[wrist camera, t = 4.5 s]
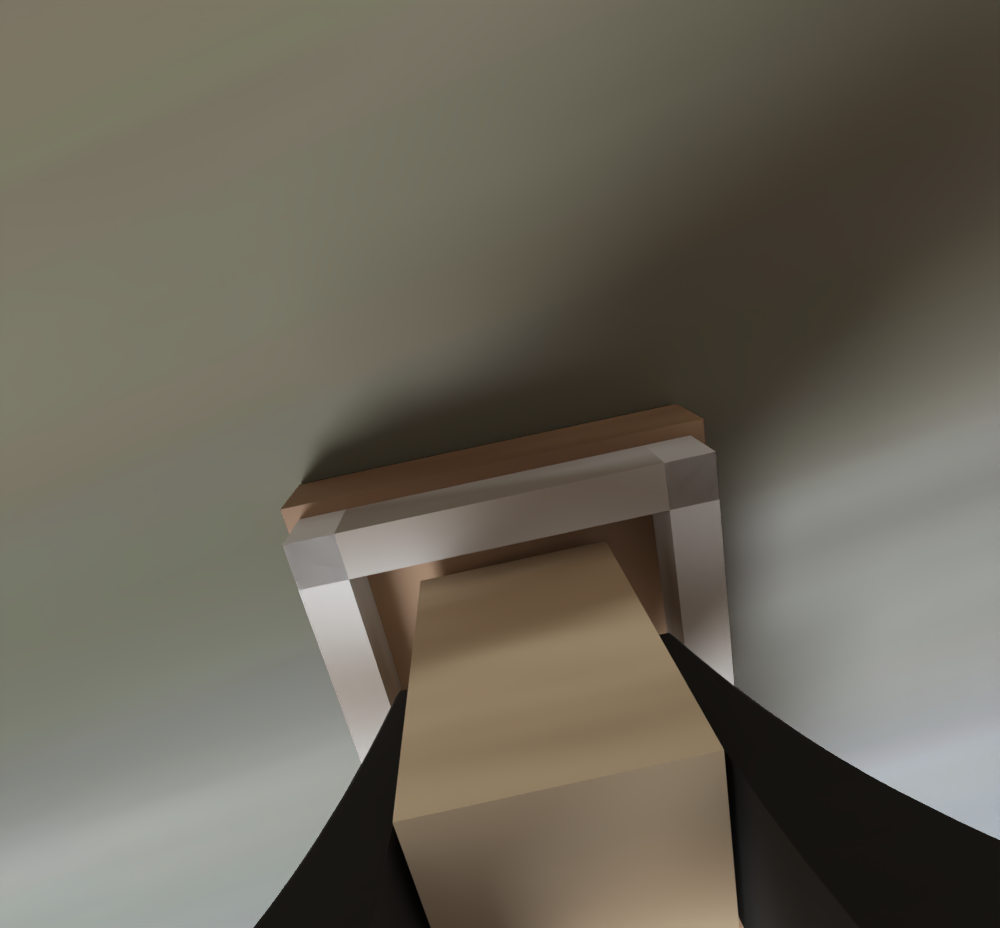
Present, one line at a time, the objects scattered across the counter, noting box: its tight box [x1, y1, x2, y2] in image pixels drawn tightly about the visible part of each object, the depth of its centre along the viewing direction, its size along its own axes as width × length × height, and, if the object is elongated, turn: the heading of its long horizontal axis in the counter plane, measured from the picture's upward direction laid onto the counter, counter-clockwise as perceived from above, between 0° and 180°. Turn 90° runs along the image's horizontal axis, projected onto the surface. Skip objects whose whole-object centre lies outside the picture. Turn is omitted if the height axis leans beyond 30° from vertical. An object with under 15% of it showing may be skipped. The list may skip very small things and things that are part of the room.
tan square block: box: [392, 541, 739, 928], centre depth 10 cm, size 5×4×6 cm
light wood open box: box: [280, 404, 744, 928], centre depth 12 cm, size 16×9×7 cm, turn 11°
